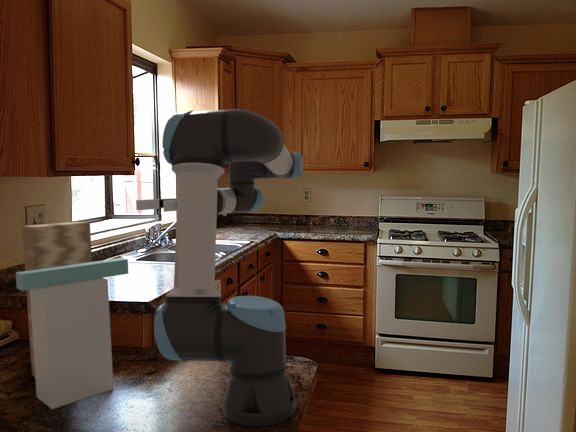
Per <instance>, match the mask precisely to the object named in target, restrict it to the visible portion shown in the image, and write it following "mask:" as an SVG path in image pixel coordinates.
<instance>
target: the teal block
mask: <svg viewBox="0 0 576 432" xmlns="http://www.w3.org/2000/svg"><path fill="white" fill-rule="evenodd" d="M127 274H129V260H128V258H122V257H119V258H112V259H111V258H110V259H105V260H104V259H103V260H97V261H92V262H88V263H81V264H74V265H66V266H59V267H52V268H44V269H37V270H30V271H25V270H24V271H16V272H15V280H16V282H15V283H16V290H20V291H22V292H23V291H27V290H30V289H37V288H43V287H49V286H55V285H61V284H67V283H74V282H80V281H86V280H92V279H98V278H111V277H117V276H123V275H127Z"/></svg>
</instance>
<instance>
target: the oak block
mask: <svg viewBox="0 0 576 432" xmlns="http://www.w3.org/2000/svg"><path fill="white" fill-rule="evenodd" d="M21 227H22V239H23V240H22V242H23V257H24V259H23V260H24V271H30V270H37V269H44V268H52V267H59V266H66V265H74V264H81V263H88V262H93V259H92V258H93V255H92V237H91V222H89V221H88V222H87V221H86V222H85V221H67V222H56V223H54V222H53V223H43V224H32V225H22V226H21ZM26 303H27V317H28V318H27V319H28V335H29V348H30V364H31V366H30V367H31V375H32V376H33V377H34V378H35V363H34V348H33V333H32V317H31V302H30V290H26Z"/></svg>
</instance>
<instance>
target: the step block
mask: <svg viewBox="0 0 576 432" xmlns="http://www.w3.org/2000/svg"><path fill="white" fill-rule="evenodd" d="M108 281H109V280H108V279H107V278H106V277H104V278H98V279H92V280H86V281H80V282H74V283H67V284H61V285H55V286H49V287H43V288H37V289H30V302H31V317H32V333H33V348H34V363H35V377H34V378H35V391H36V398H37V399H38V400H40V401H41V402H42V403H43V404H45V405H46V407H49V408H50V409H51V410H53V409H56V408H57V409H58V408H60V407H62V406H66V405H69V404H72V403H75V402H78V401H80V400H81V401H82V400H85V399H87V398H91V397H93V396H96V395H99V394H103V393H106V392H108V391H112V390H114V372H113V371H114V370H113V356H112V355H113V353H112V337H111V336H112V335H111V318H110V316H111V315H110V301H109V298H110V297H109V282H108Z"/></svg>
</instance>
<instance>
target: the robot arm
mask: <svg viewBox="0 0 576 432" xmlns="http://www.w3.org/2000/svg"><path fill="white" fill-rule="evenodd" d="M161 144H162V149H163V152H162V153H163V157H164V159H165V161H166V163H168V164H170V165H171V171H172V172H173V173H174V174H175V176H176V177H177V197H175V198H173V197H172V198H151V199H136V201H135V202H136V203H135V204H136V205H135V206H136V211H146V210H149V211H150V210H156V211H157V212H159V211H160V209H163V212H164V213H165V212H167V213H168V212H176V220H175V221H176V225H175V226H176V227H175V248H174V249H175V250H174V274H173V278H174V279H173V287H172V289H171V290H170V291H169V292H167V293H166V295H165V302H164V303H162V304H161V303H160V305H159V306H158V307H157V308H156V311H155V316H154V319H153V320H154V321H153V333H154V339H155V344H156V347H157V348H158V350H159V352H160V354H161V355H162V356H163V357H164V358H165V359H167V360H172V361H182V362H190V361H192V362H195V361H196V362H226V363H227V362H228V363H229V370H230V374H229V379H228V382H227V385H226V390H225V393H224V397H223V399H222V414H223V416H224V417H225V419H226V420H227V421H229V422H231V423H233V424H236V425H238V426H243V427H259V428H260V427H261V428H262V427H270V426H273V425H277V424H280V423H283V422H285V421H286V420H288V419H290V418H291V417H293V415H294V414H295V412H296V405H297V404H296V396H295V393H294V390H293V388H292V385H291V381H290V379H289V376H288V374H287V361H286V360H287V353H286V350H287V348H286V329H287V325H286V320H285V319H286V318H285V310H284V308H283V306H282V305H281V304H280V303H279V302H278V301H276V300H273V299H271V298H267V297H263V296H256V295H244V296H243V295H238V296H233V297H231V298H229V299H228V301H227V304H225V303H223V304H222V295H221V293H219V291H218V290H217V289H216V288H215V287H216V286H215V284H216V281H215V280H216V277H215V276H216V254H217V253H216V250H217V249H216V247H217V244H216V243H217V220H218V219H217V218H218V217H217V216H218V215H222V216H223V217H227V214H239V213H240V214H241V213H243V214H244V213H250V212H255V211H258V210H259V209H260V208H261V207H262V205H263V203H264V202H263V201H264V196H263V193H262V191H261V190H260V188H259V187H256V186H255V180H257V179H296V178H301V177H302V175H303V170H304V169H303V168H304V167H303V155H302V153H300V152H295V151H289V150H288V148H287V147H286V145H285V140H284V135H283V133H282V131H281V130H280V128H279V127H278V126H277V124H275V123H274V122H273V121H271V119H270V120H269V119H268V118H266V117H264V116H263V115H260V114H258V113H256V112H253V111H249V110H246V109H240V108H239V109H238V108H233V109H218V110H217V109H215V110H210V109H209V110H193V109H192V110H188V111H182V112H176V113H173V114H172V115H171V116H170V117H169V118H168V120H167V121H166V123H165V125H164V129H163V135H162V143H161ZM226 164H227V165H228V176H229V177H228V180H229V181H228V182H229V185H228V187H218V184H219V183H218V180H219V178H220V177H222V176H223V175H224V174H225V172H226V168H225V167H226Z"/></svg>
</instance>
